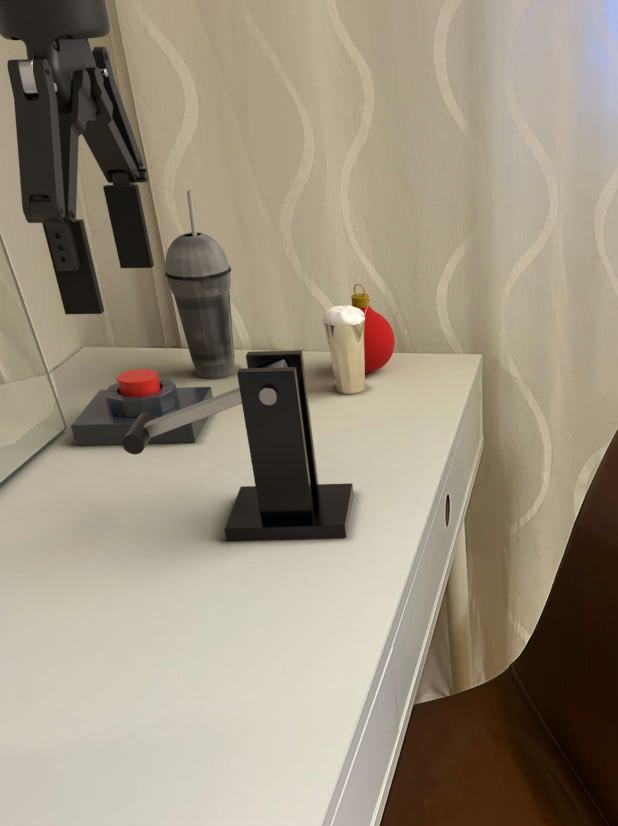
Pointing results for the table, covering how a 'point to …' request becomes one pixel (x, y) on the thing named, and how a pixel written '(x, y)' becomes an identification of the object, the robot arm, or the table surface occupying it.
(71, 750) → the table surface
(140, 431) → the lever
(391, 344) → the christmas ornament
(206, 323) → the beverage cup
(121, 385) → the button
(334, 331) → the milkshake
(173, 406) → the control block
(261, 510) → the bracket
